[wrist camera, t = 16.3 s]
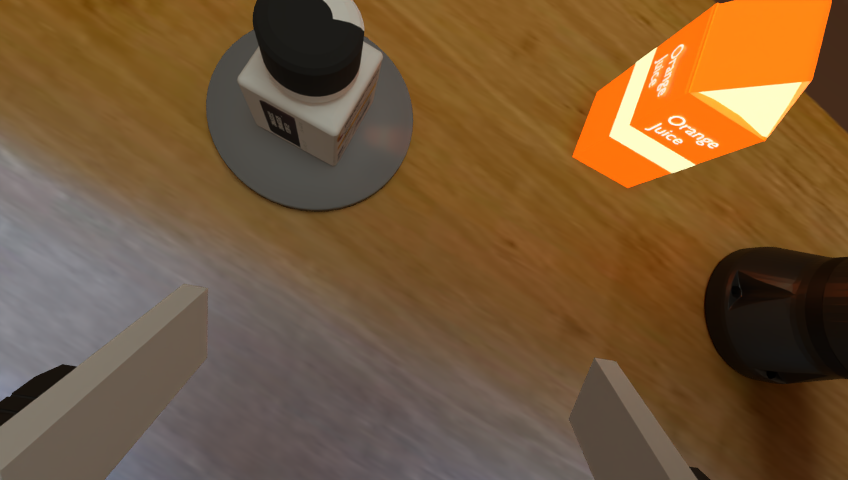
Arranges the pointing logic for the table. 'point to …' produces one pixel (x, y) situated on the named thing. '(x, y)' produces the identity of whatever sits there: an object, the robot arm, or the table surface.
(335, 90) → the container
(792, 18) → the orange juice
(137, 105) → the table surface
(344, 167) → the slate plate
